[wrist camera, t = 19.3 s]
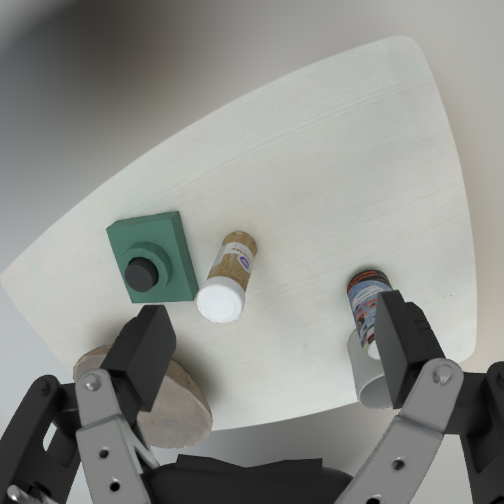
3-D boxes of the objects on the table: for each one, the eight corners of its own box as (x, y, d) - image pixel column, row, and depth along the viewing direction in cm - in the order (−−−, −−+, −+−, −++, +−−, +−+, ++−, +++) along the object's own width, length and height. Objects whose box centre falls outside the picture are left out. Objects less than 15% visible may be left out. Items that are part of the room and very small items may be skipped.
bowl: (171, 300, 46) (147, 343, 37) (245, 404, 56) (238, 446, 47) (72, 332, 53) (47, 365, 44) (145, 415, 63) (132, 448, 54)
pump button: (127, 258, 39) (120, 266, 37) (153, 256, 38) (146, 263, 36) (136, 284, 40) (130, 293, 38) (161, 283, 40) (156, 291, 38)
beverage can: (376, 256, 40) (402, 309, 29) (395, 294, 42) (420, 350, 31) (336, 278, 42) (349, 336, 31) (358, 314, 44) (373, 373, 33)
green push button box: (116, 221, 42) (98, 234, 37) (178, 210, 40) (165, 224, 35) (139, 292, 46) (126, 311, 42) (198, 289, 45) (189, 309, 40)
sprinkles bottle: (263, 244, 41) (252, 305, 29) (242, 268, 43) (225, 332, 30) (235, 223, 40) (212, 277, 28) (215, 248, 42) (186, 307, 30)
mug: (341, 330, 45) (350, 384, 36) (393, 312, 43) (413, 362, 33) (358, 376, 50) (367, 426, 40) (403, 361, 47) (419, 409, 38)
